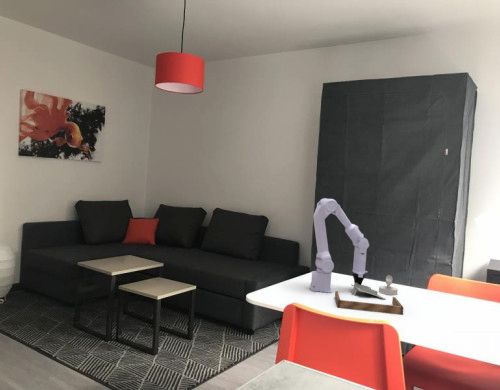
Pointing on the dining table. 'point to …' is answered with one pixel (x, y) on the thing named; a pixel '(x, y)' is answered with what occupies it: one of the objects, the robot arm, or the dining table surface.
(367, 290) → the metal bracket
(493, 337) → the dining table surface
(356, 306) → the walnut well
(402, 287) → the dining table surface
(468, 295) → the dining table surface
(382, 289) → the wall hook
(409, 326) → the dining table surface
